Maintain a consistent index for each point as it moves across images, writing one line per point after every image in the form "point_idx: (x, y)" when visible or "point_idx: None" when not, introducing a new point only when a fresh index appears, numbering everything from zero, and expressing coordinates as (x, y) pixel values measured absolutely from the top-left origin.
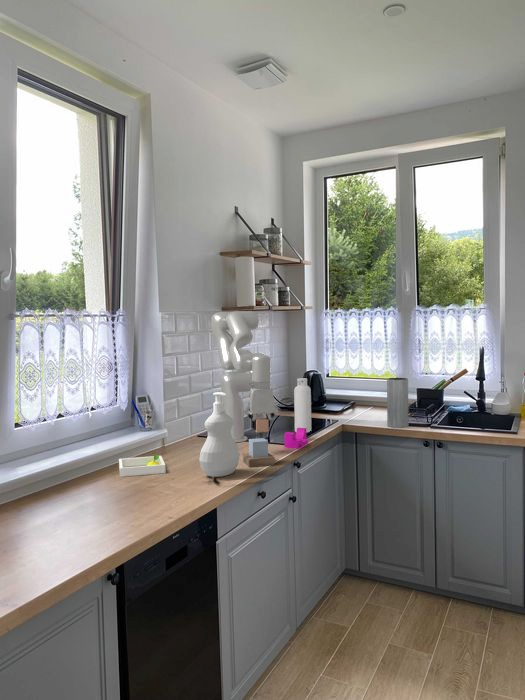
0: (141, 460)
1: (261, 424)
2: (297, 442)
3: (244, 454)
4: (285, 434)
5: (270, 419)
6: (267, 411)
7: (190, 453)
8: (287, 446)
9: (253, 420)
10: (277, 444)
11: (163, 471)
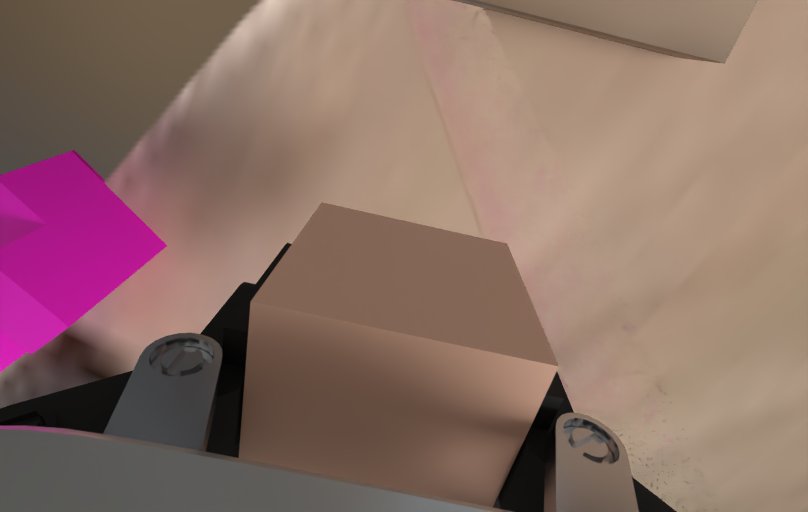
0: None
1: (437, 284)
2: (11, 178)
3: (736, 20)
4: (69, 311)
5: (182, 338)
6: (163, 507)
7: (757, 466)
8: (130, 240)
9: (584, 423)
10: None
11: None
